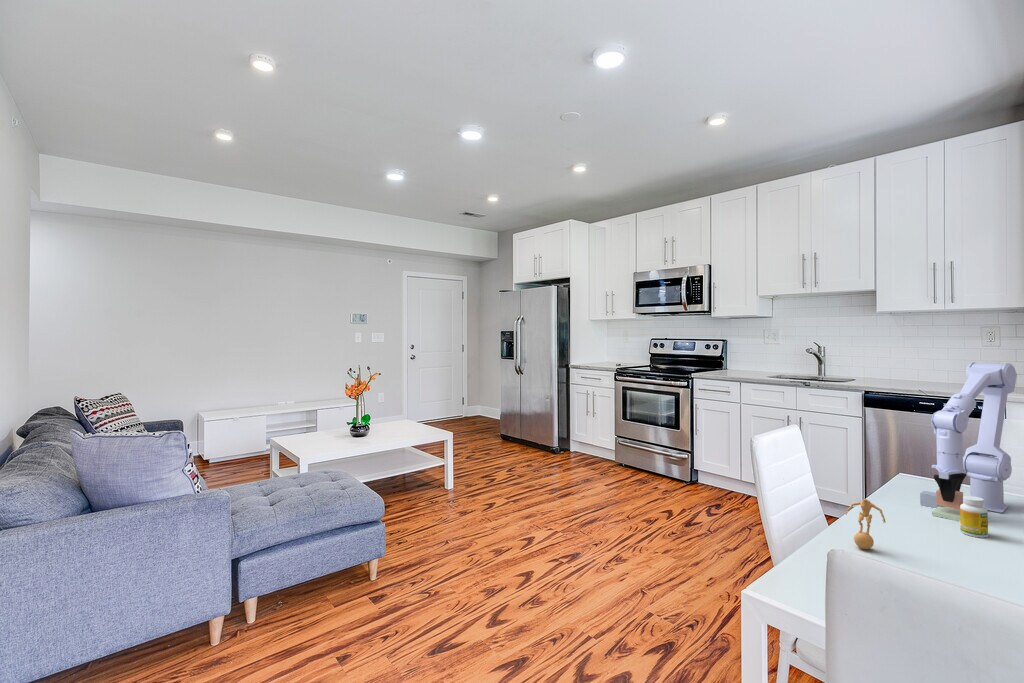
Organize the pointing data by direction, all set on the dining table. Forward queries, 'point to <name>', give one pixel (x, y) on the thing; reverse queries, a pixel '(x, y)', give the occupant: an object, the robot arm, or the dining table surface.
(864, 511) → the figurine
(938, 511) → the plate
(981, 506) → the supplement bottle
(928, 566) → the dining table surface
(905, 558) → the dining table surface
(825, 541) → the dining table surface
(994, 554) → the dining table surface
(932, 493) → the slate brick
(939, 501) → the terracotta brick
